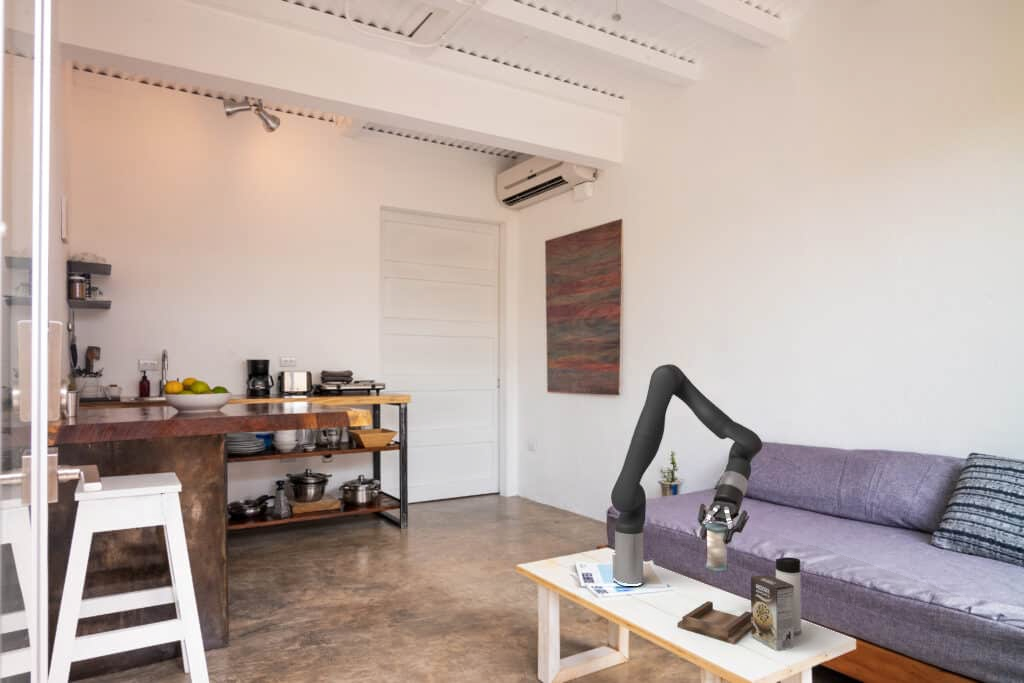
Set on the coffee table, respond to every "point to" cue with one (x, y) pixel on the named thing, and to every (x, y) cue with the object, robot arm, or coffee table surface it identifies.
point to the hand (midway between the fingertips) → (714, 540)
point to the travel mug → (791, 574)
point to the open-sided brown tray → (716, 623)
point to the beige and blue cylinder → (716, 547)
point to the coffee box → (772, 612)
